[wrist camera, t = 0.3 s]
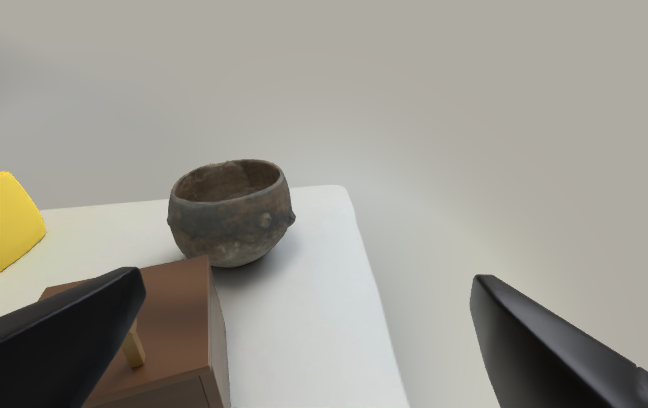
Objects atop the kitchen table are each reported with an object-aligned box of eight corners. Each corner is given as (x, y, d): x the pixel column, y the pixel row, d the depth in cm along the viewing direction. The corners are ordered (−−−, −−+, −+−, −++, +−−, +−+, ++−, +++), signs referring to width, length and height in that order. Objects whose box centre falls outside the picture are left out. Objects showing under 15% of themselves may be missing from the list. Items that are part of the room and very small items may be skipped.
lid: (211, 372, 19) (194, 312, 17) (-46, 446, 16) (-103, 384, 14) (209, 260, 28) (198, 213, 26) (49, 293, 26) (23, 244, 24)
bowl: (282, 214, 51) (275, 149, 47) (313, 274, 38) (306, 192, 33) (184, 233, 47) (165, 165, 43) (180, 307, 34) (153, 220, 30)
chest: (232, 440, 23) (211, 364, 19) (28, 509, 20) (-38, 434, 16) (225, 325, 32) (209, 260, 28) (84, 361, 29) (49, 294, 26)
